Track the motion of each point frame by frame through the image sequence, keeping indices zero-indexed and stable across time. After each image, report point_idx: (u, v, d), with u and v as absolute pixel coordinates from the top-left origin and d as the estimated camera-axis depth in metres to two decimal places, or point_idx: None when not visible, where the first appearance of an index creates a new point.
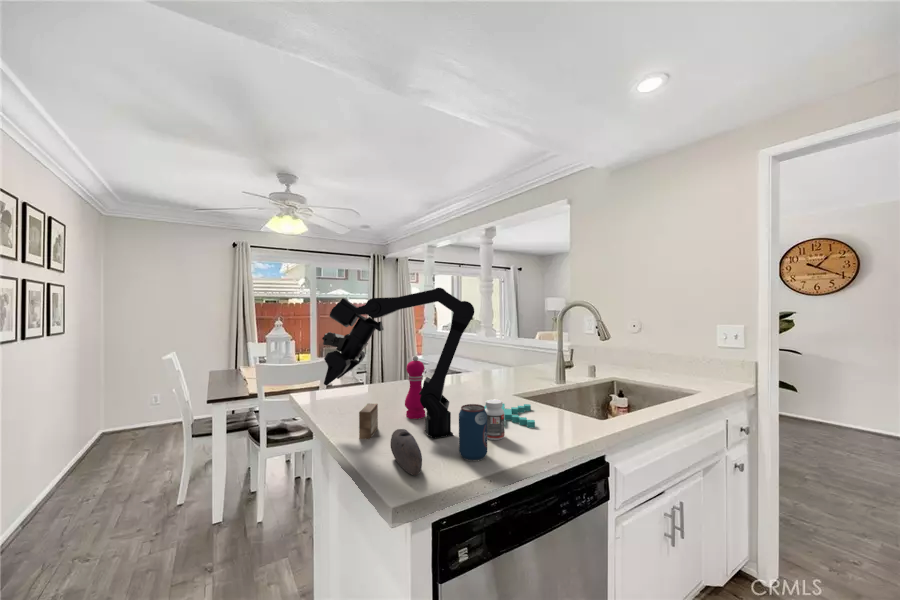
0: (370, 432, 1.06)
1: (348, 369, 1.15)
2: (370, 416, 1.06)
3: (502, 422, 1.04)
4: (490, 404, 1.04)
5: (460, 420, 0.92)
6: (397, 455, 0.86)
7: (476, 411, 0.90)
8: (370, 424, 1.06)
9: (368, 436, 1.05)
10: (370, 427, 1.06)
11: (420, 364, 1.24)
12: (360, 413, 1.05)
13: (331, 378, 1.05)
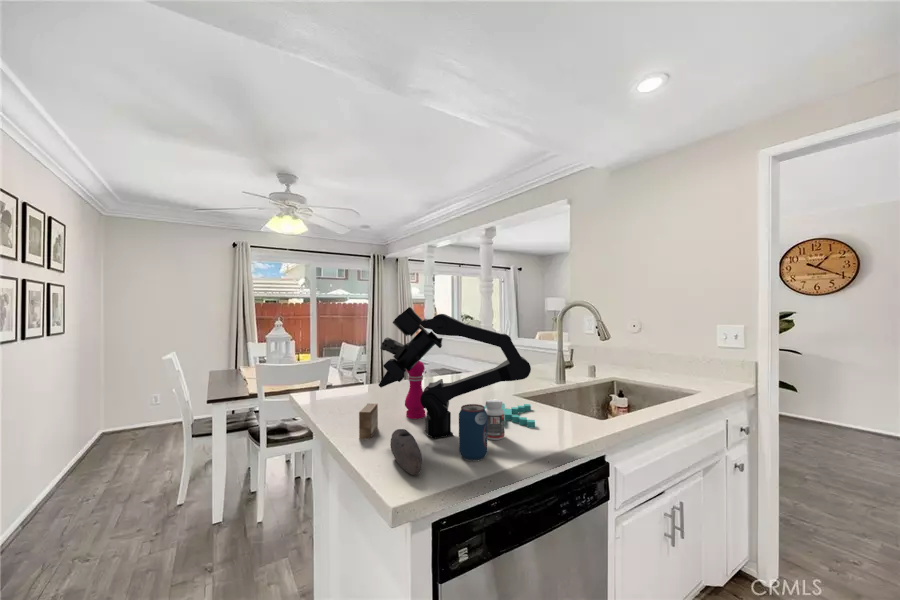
0: (370, 432, 1.06)
1: None
2: (370, 416, 1.06)
3: (502, 422, 1.04)
4: (490, 404, 1.04)
5: (460, 420, 0.92)
6: (397, 455, 0.86)
7: (476, 411, 0.90)
8: (370, 424, 1.06)
9: (368, 436, 1.05)
10: (370, 427, 1.06)
11: (420, 364, 1.24)
12: (360, 413, 1.05)
13: (387, 382, 1.08)
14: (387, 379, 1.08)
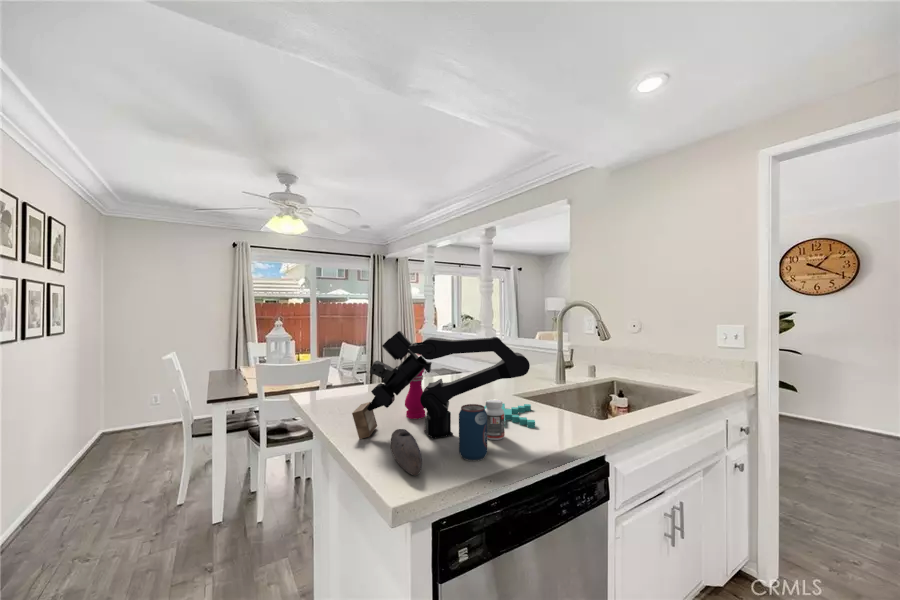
0: (368, 429, 1.06)
1: None
2: (364, 414, 1.06)
3: (502, 422, 1.04)
4: (490, 404, 1.04)
5: (460, 420, 0.92)
6: (397, 455, 0.86)
7: (476, 411, 0.90)
8: (366, 422, 1.06)
9: (367, 434, 1.05)
10: (367, 424, 1.06)
11: None
12: (353, 414, 1.05)
13: (376, 405, 1.09)
14: (376, 403, 1.08)
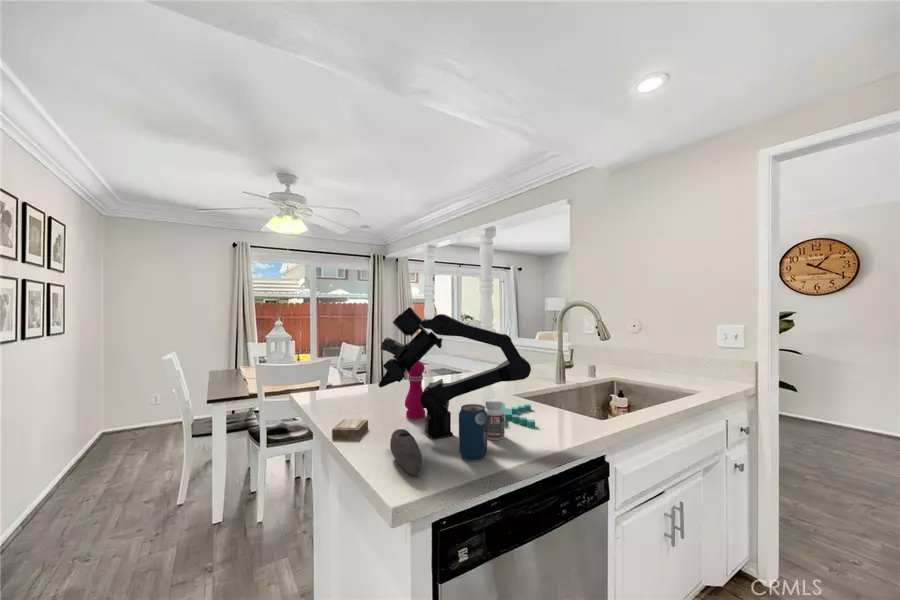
0: (352, 428, 1.06)
1: None
2: (337, 428, 1.06)
3: (502, 422, 1.04)
4: (490, 404, 1.04)
5: (460, 420, 0.92)
6: (397, 455, 0.86)
7: (476, 411, 0.90)
8: (345, 428, 1.06)
9: (355, 431, 1.05)
10: (348, 428, 1.06)
11: (420, 364, 1.24)
12: (333, 438, 1.06)
13: (387, 382, 1.08)
14: (387, 379, 1.08)
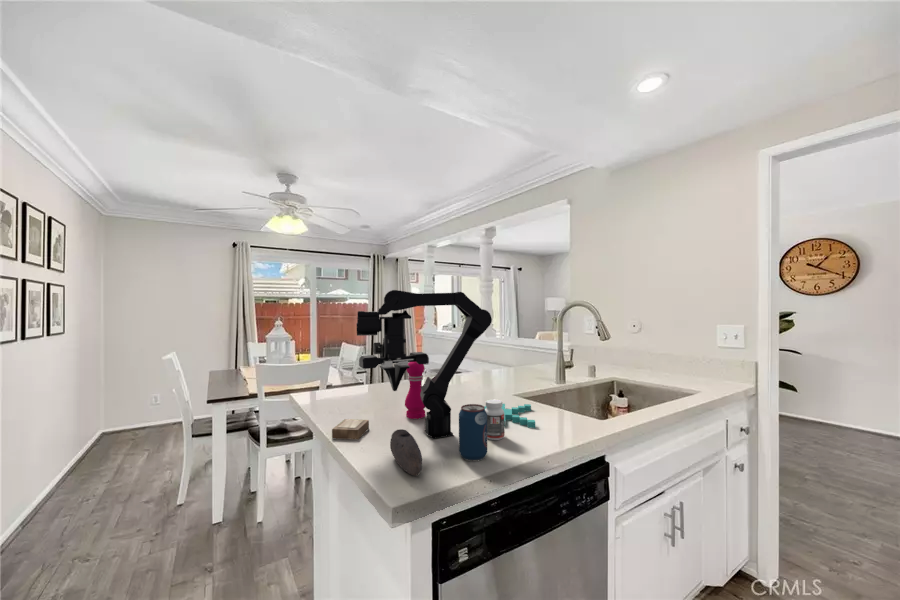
0: (352, 428, 1.06)
1: (397, 377, 1.05)
2: (337, 428, 1.06)
3: (502, 422, 1.04)
4: (490, 404, 1.04)
5: (460, 420, 0.92)
6: (397, 455, 0.86)
7: (476, 411, 0.90)
8: (345, 428, 1.06)
9: (355, 431, 1.05)
10: (347, 428, 1.06)
11: (420, 364, 1.24)
12: None
13: (391, 381, 1.05)
14: (390, 379, 1.06)
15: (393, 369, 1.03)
